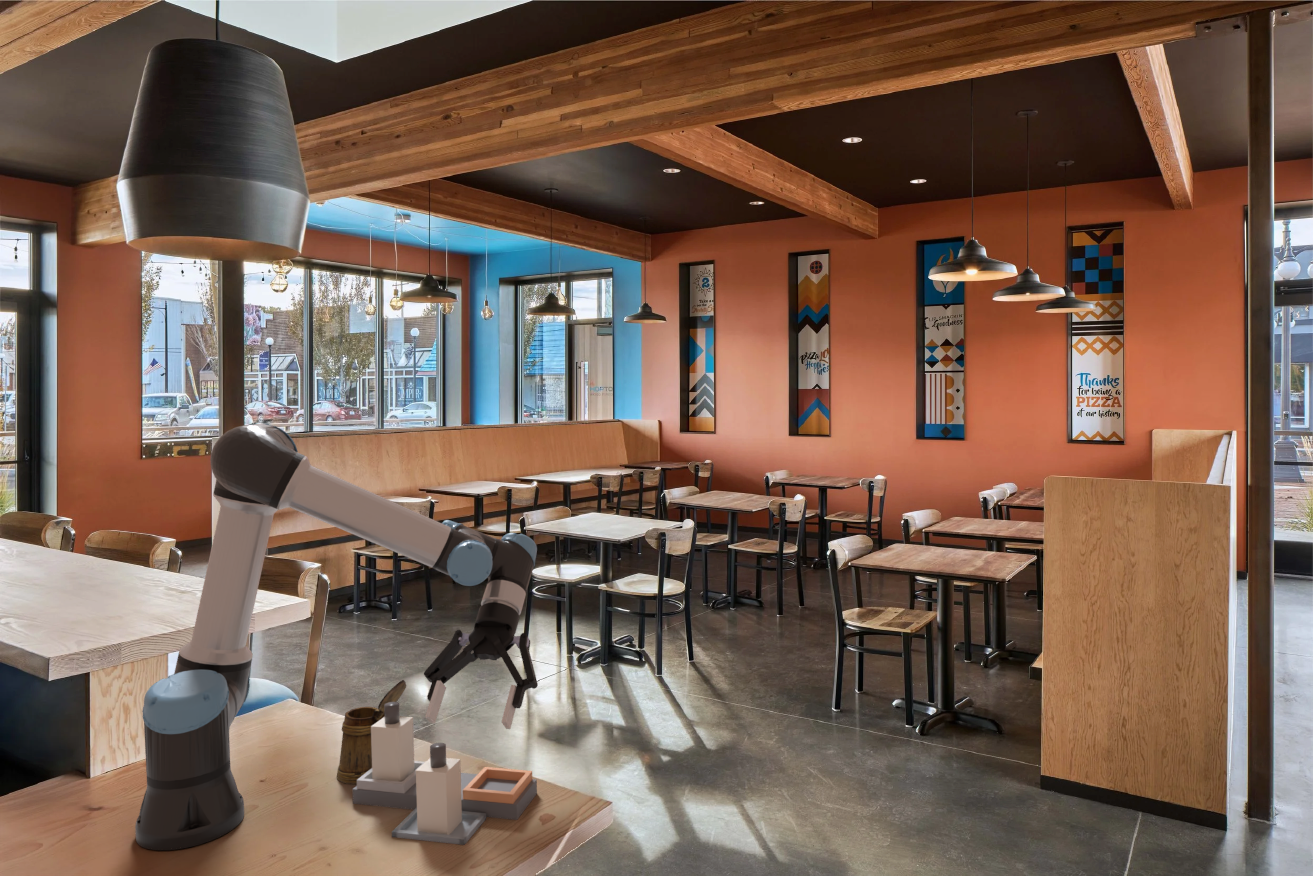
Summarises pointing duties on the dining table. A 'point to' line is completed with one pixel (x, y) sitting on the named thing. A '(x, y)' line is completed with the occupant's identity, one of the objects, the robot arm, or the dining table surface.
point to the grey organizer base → (479, 792)
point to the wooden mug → (361, 737)
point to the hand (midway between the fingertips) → (467, 723)
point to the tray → (458, 836)
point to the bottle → (439, 792)
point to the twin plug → (392, 745)
